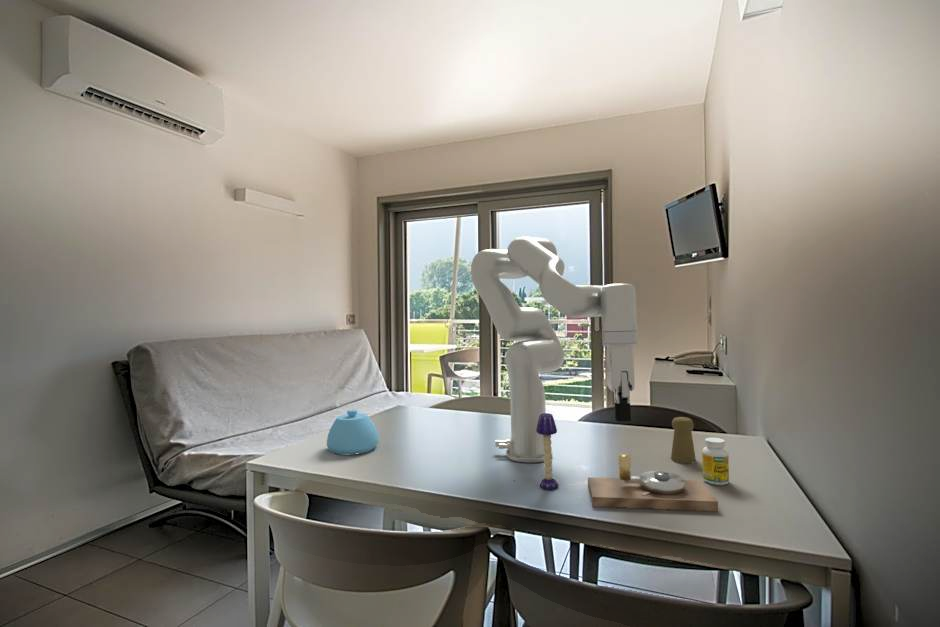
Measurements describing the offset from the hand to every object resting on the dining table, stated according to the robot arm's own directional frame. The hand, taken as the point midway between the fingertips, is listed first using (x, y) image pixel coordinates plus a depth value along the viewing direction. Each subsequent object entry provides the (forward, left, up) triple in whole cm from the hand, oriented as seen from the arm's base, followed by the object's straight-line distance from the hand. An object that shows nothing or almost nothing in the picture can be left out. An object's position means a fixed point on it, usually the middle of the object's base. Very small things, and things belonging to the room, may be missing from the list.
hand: (623, 420), depth 107 cm
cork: (+18, +20, -15) cm, 31 cm away
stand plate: (+4, -6, -15) cm, 17 cm away
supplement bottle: (+21, +5, -15) cm, 27 cm away
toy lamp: (-17, -2, -15) cm, 23 cm away
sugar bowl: (-74, +23, -15) cm, 79 cm away
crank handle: (+5, -5, -13) cm, 14 cm away
